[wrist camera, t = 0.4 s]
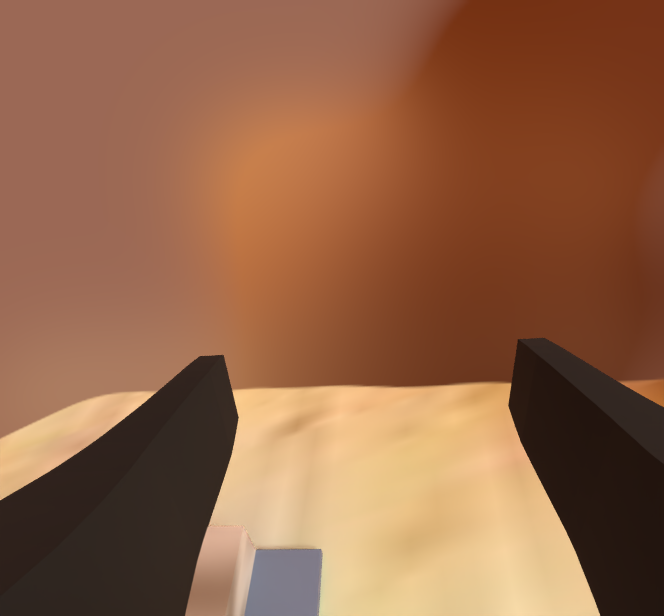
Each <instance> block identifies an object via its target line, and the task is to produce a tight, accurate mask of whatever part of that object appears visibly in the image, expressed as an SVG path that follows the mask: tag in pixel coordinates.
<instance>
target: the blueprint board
mask: <svg viewBox="0 0 664 616" xmlns="http://www.w3.org/2000/svg"><path fill="white" fill-rule="evenodd" d="M321 568H322V551H321V549H275V550H256V549H255V547H254V545H253V543H252V541H251V539H250V537H249V535H248V533H247V531H246V529H245V527H244V526H208V528H207V531H206V534H205V537H204V540H203V543H202V547H201V550H200V554H199V557H198V561H197V565H196V569H195V574H194V578H193V582H192V587H191V591H190V595H189V600H188V604H187V609H186V614H185V616H319V600H320V584H321Z"/></svg>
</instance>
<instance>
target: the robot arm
mask: <svg viewBox="0 0 664 616" xmlns="http://www.w3.org/2000/svg"><path fill="white" fill-rule="evenodd" d="M508 406H509V409H510V412H511V415H512V418H513V421H514V424H515V427H516V430H517V432H518V435H519V438H520V441H521V443H522V445H523V447H524V449H525V451H526V453H527V455H528V457H529V459H530V461H531V463H532V465H533V467H534V469H535V471H536V473H537V475H538V477H539V479H540V481H541V483H542V485H543V487H544V489H545V491H546V493H547V495H548V497H549V499H550V501H551V503H552V505H553V507H554V508H555V510H556V512H557V514H558V516H559V518H560V520H561V522H562V524H563V526H564V528H565V530H566V532H567V534H568V536H569V539H570V541H571V543H572V545H573V547H574V549H575V552H576V554H577V556H578V559H579V561H580V564H581V567H582V569H583V572H584V574H585V577H586V579H587V582H588V584H589V587H590V589H591V592H592V594H593V597H594V599H595V602H596V605H597V608H598V610H599V613H600V616H664V407H662V406H660V405H658V404H657V403H655V402H653V401H651V400H649V399H647V398H645V397H644V396H642V395H640V394H638V393H637V392H635V391H633V390H631V389H630V388H628V387H626V386H624V385H623V384H621V383H619V382H618V381H616V380H614V379H613V378H611V377H609V376H608V375H606V374H604V373H602V372H601V371H599V370H598V369H596V368H594V367H593V366H591V365H589V364H588V363H586V362H585V361H583V360H581V359H580V358H578V357H576V356H575V355H573V354H571V353H570V352H568V351H567V350H565V349H563V348H561V347H560V346H558V345H556V344H555V343H553V342H551V341H549V340H547V339H545V338H534V339H518V343H517V350H516V357H515V363H514V370H513V377H512V384H511V391H510V398H509V405H508ZM238 418H239V417H238V413H237V409H236V405H235V401H234V397H233V392H232V388H231V384H230V380H229V376H228V372H227V368H226V363H225V359H224V355H215V356H200V357H198V358H197V359H196V360H194V361H193V362H192V363H190V364H189V365H188V366H187V367H186V368H185V369H183V370H182V371H181V372H180V373H179V374H177V375H176V376H175V377H174V378H173V379H172V380H171V381H169V382H168V383H167V384H166V385H165V386H164V387H162V388H161V389H160V390H159V391H158V392H156V393H155V394H154V395H153V396H152V397H151V398H149V399H148V400H147V401H146V402H145V403H143V404H142V405H141V406H140V407H139V408H137V409H136V410H135V411H133V412H132V413H131V414H130V415H128V416H127V417H126V418H125V419H123V420H122V421H121V422H119V423H118V424H117V425H116V426H114V427H113V428H112V429H110V430H109V431H108V432H107V433H105V434H104V435H103V436H101V437H100V438H99V439H97V440H96V441H94V442H93V443H92V444H90V445H89V446H87V447H86V448H84V449H83V450H82V451H80V452H79V453H77V454H76V455H74V456H73V457H71V458H70V459H68V460H67V461H65V462H64V463H62V464H61V465H59V466H57V467H56V468H54V469H53V470H51V471H50V472H48V473H46V474H45V475H43V476H41V477H40V478H38V479H36V480H34V481H33V482H31V483H29V484H28V485H26V486H24V487H23V488H21V489H19V490H17V491H16V492H14V493H12V494H11V495H9V496H7V497H5V498H4V499H2V500H0V616H185V614H186V609H187V604H188V600H189V595H190V591H191V587H192V582H193V578H194V574H195V569H196V565H197V561H198V557H199V554H200V550H201V547H202V543H203V540H204V537H205V534H206V531H207V528H208V525H209V522H210V519H211V516H212V513H213V510H214V507H215V504H216V501H217V498H218V495H219V492H220V489H221V486H222V483H223V480H224V477H225V474H226V470H227V467H228V464H229V461H230V458H231V455H232V450H233V445H234V440H235V435H236V429H237V424H238Z"/></svg>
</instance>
